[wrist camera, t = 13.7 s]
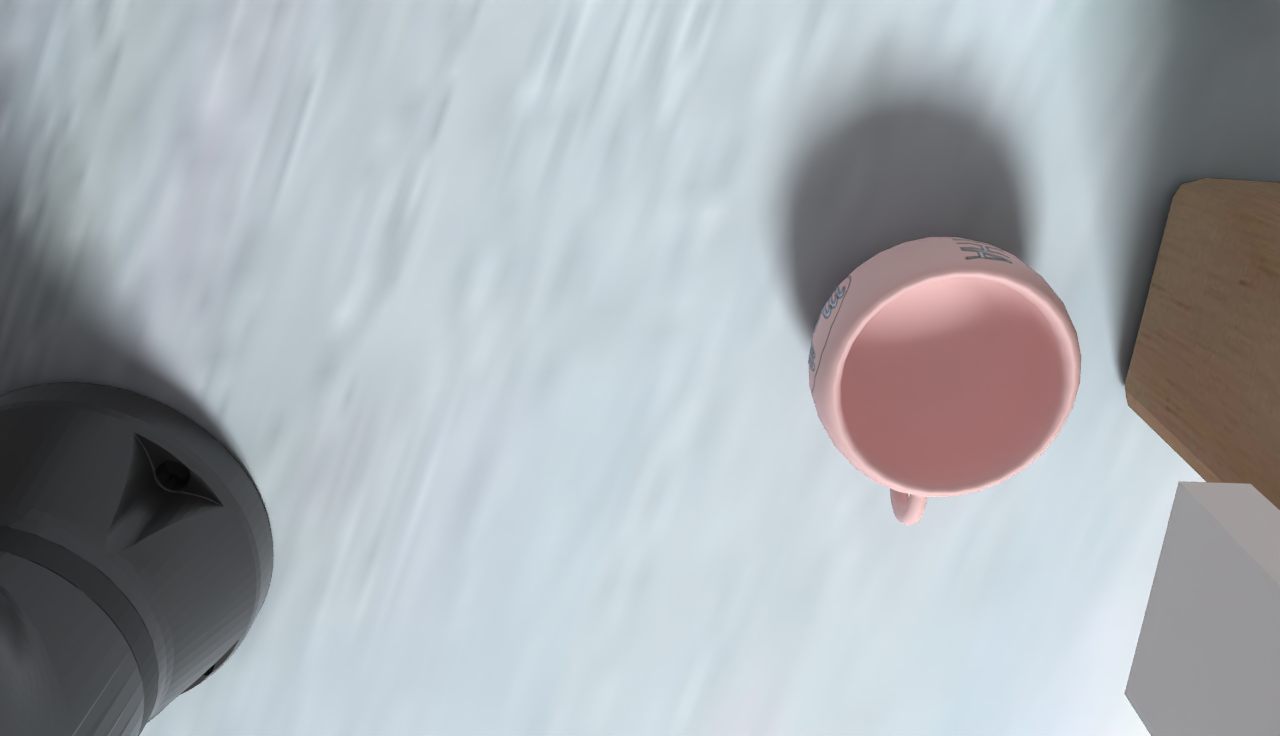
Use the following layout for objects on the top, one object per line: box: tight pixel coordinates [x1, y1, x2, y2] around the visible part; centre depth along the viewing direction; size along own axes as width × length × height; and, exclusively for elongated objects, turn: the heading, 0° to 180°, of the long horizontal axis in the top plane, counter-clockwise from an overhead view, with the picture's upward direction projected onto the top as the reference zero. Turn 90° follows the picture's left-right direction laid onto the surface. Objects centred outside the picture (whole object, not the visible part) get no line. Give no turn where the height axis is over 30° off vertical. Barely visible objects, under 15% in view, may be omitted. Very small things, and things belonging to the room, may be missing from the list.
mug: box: [808, 237, 1081, 525], centre depth 43 cm, size 12×10×6 cm
